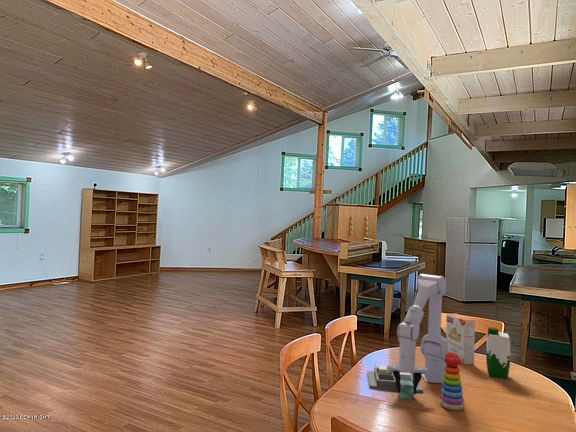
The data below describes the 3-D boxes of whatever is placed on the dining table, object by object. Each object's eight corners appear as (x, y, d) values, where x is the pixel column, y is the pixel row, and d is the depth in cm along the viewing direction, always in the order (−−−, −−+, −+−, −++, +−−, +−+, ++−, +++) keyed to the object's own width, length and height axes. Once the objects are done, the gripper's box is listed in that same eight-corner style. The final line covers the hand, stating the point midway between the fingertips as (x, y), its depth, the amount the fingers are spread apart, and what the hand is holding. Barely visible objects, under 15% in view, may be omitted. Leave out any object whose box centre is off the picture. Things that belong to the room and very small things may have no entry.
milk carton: (485, 370, 185) (486, 325, 185) (508, 374, 181) (509, 328, 182) (486, 377, 177) (488, 330, 177) (510, 381, 173) (512, 333, 173)
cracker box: (444, 355, 204) (446, 313, 205) (455, 355, 206) (456, 313, 206) (463, 365, 191) (464, 320, 191) (474, 365, 192) (475, 319, 192)
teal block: (411, 394, 156) (411, 381, 156) (413, 399, 152) (413, 385, 152) (399, 393, 157) (399, 380, 157) (400, 398, 152) (401, 384, 152)
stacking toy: (463, 403, 149) (464, 351, 150) (464, 413, 142) (466, 358, 142) (439, 399, 152) (441, 348, 152) (440, 408, 144) (441, 354, 145)
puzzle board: (415, 377, 174) (416, 364, 174) (423, 392, 158) (423, 378, 158) (367, 373, 176) (367, 360, 176) (369, 388, 160) (370, 373, 160)
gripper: (388, 357, 151) (387, 394, 151) (429, 360, 149) (428, 398, 149) (386, 351, 158) (385, 387, 158) (425, 354, 156) (424, 390, 156)
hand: (406, 392), depth 154 cm, fingers open, 5 cm apart
